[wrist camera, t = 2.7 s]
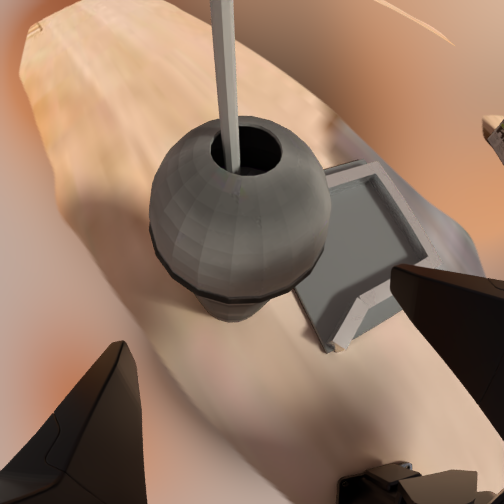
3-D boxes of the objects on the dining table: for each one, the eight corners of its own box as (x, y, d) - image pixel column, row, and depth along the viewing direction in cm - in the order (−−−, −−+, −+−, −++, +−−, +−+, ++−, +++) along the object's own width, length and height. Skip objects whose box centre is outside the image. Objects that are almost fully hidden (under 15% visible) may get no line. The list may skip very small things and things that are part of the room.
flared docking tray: (329, 356, 22) (338, 353, 20) (247, 192, 26) (249, 179, 25) (439, 287, 24) (452, 280, 23) (360, 159, 29) (367, 147, 28)
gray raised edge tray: (326, 353, 22) (328, 353, 21) (246, 195, 26) (247, 193, 26) (438, 284, 25) (441, 283, 24) (362, 161, 29) (363, 158, 29)
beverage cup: (235, 362, 21) (320, 241, 3) (162, 294, 22) (28, 36, 4) (299, 289, 23) (465, 55, 5) (229, 230, 25) (249, -40, 6)
